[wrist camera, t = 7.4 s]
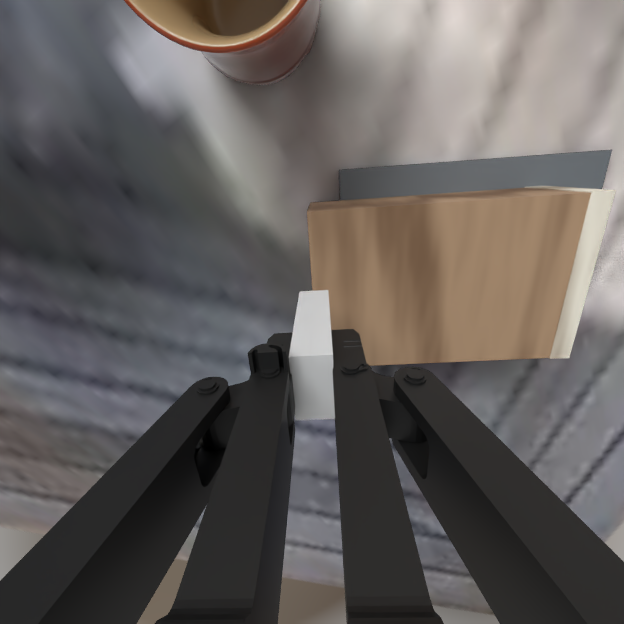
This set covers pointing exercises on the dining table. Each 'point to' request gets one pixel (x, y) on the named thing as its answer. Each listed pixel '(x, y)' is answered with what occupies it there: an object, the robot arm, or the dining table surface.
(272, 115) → the dining table surface
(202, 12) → the mug
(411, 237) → the brown and cream block
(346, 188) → the mat
